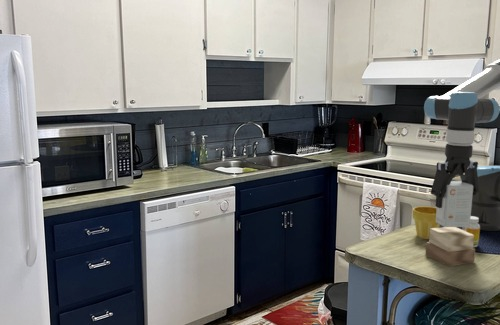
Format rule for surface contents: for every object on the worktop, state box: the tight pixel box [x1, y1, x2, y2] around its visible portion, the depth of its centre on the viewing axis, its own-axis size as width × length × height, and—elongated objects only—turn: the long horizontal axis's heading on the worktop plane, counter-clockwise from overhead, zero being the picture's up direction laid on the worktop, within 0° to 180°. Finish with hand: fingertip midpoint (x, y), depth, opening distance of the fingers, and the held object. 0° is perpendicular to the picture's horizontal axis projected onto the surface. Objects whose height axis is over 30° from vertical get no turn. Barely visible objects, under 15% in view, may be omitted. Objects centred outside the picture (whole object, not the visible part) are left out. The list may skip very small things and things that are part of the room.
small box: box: [436, 180, 473, 228], centre depth 150 cm, size 8×6×13 cm
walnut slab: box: [425, 241, 476, 267], centre depth 153 cm, size 10×10×4 cm
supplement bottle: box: [461, 216, 481, 248], centre depth 165 cm, size 5×5×10 cm
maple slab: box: [428, 226, 474, 252], centre depth 152 cm, size 9×9×4 cm
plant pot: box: [412, 205, 441, 240], centre depth 173 cm, size 10×10×10 cm
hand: (452, 216), depth 151 cm, fingers closed on small box, 9 cm apart
